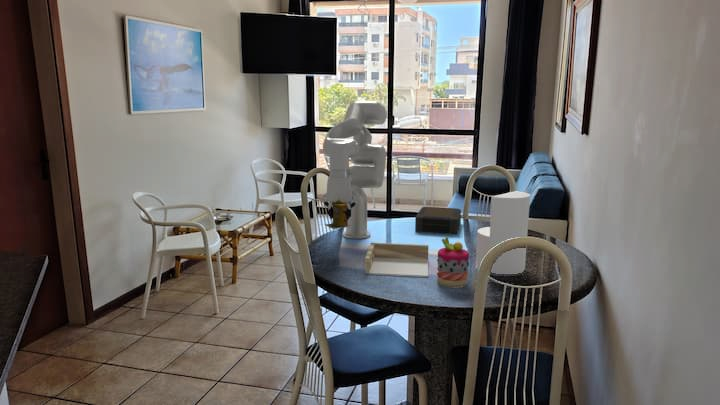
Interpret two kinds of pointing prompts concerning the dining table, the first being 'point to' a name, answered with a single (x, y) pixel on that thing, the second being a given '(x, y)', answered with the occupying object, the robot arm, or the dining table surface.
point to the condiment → (339, 215)
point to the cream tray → (394, 252)
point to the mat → (399, 267)
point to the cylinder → (505, 231)
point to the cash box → (438, 220)
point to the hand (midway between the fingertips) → (340, 217)
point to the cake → (452, 265)
